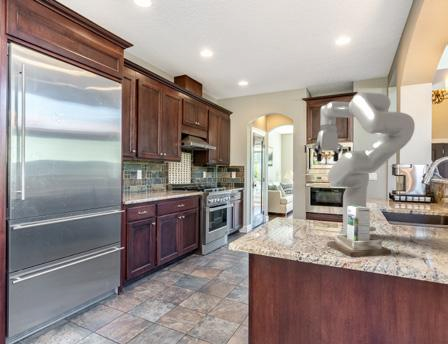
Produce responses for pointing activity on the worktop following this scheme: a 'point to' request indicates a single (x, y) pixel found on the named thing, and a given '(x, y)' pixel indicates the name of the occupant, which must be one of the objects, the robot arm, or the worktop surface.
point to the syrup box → (358, 223)
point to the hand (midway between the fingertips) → (327, 161)
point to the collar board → (358, 246)
